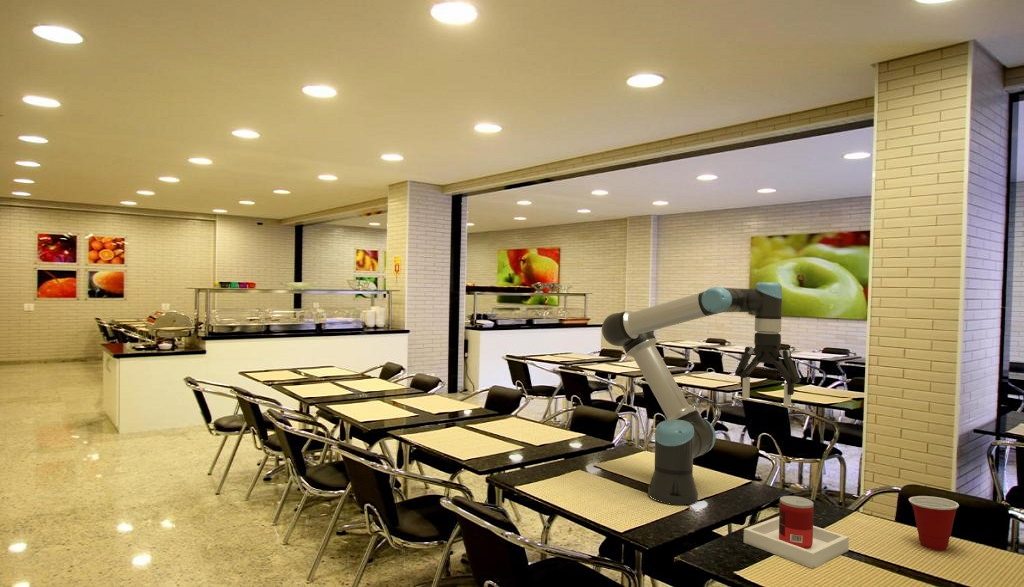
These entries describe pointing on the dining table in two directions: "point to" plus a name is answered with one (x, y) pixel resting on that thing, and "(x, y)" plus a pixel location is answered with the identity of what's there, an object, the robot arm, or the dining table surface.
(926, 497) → the plastic cup
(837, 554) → the tray
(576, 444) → the dining table surface
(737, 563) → the dining table surface
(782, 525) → the canned food
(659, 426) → the robot arm
